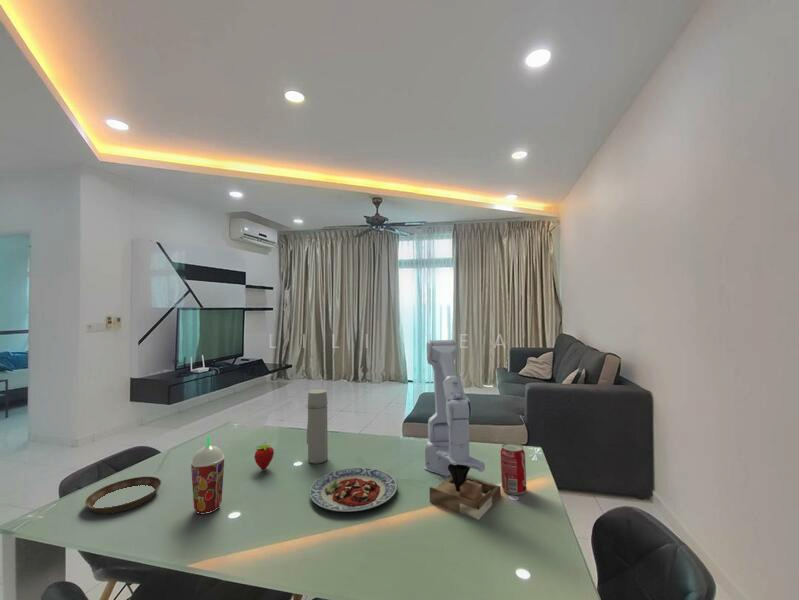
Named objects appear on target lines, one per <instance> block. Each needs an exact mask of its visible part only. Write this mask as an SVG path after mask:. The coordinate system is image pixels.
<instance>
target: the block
mask: <svg viewBox="0 0 799 600" xmlns="http://www.w3.org/2000/svg"><path fill="white" fill-rule="evenodd" d="M481 496H482V484H478V483H475V482H472V481H468V480H467V481H466V482H465V483H464V484H462V485H461V486H460V497H463V498H466V499H469V500H472V501H475V502H476V501H477V500H478V499H479V498H480V497H481Z"/></svg>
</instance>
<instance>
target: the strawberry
mask: <svg viewBox="0 0 799 600" xmlns="http://www.w3.org/2000/svg"><path fill="white" fill-rule="evenodd" d="M274 451H275V450H274V448H273V447H271V444H267V443H266V444H263V445H260V446H257V449H256V451H255V452H254V461H255V463H256V465H257V466H258V468H259V469H261V471H263V470H264V471H265V470H267V468H268V466H269V465H270V463H271V462H272V460H273V458H274V454H275V452H274Z"/></svg>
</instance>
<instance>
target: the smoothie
mask: <svg viewBox="0 0 799 600" xmlns="http://www.w3.org/2000/svg"><path fill="white" fill-rule="evenodd" d="M225 458H226V456H225V454H224V453H223V451H222V449H221V448H220V447H218V446H216V445H213V444H212V445H211V444H210V435H207V436H206V446H203V447H201V448H199V449H198V451H196V452H195V454H194V456H193V457H192V459H191V460H190V468H191V483H192V497H193V498H192V499H193V508H194V510H195V512H196V511H197V512H199V513H206V512H210V511H213V510H215V509H216V508H218V507H219V508H220V506H219V505H221V503H222V501H223V489H224V488H223V485H224V471H225ZM219 508H218V509H219ZM215 511H216V510H215ZM197 512H196V513H197Z"/></svg>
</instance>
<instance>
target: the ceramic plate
mask: <svg viewBox="0 0 799 600" xmlns="http://www.w3.org/2000/svg"><path fill="white" fill-rule="evenodd" d="M397 489H398V484H397V481H396V479H395V478H394V476H392V475H391V474H389V473H387V472H386V471H383V470H381V469H377V468H372V467H371V468H370V467H349V468H348V467H347V468H343V469H338V470H334V471H332V472H329V473H327V474H325V475H323V476H321V477H320V478H318V479H316V481H314V483H312V485H311V487H310V489H309V496H310V497H309V498H310V499H311V501H312V502H313V503H315V504H316V505H317V506H319V507H320V508H324V509H325V510H330V511H334V512H343V513H344V512H345V513H346V512H348V513H349V512H350V513H351V512H358V511H359V512H360V511H365V510H369V509H374V508H376V507H378V506H380V505H382V504H384V503H386V502H387V501H389V500H390V499H391V498H393V497H394V495H395V494H396V493H397Z"/></svg>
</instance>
